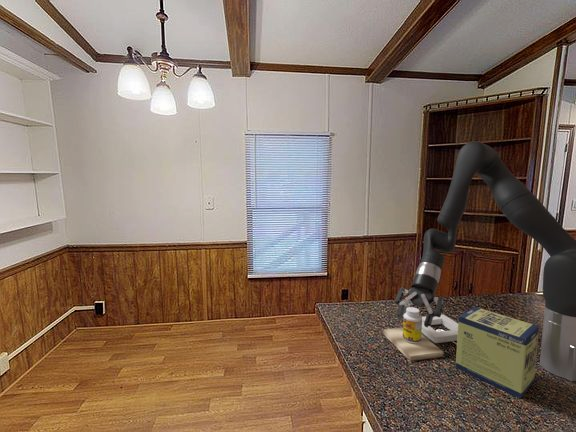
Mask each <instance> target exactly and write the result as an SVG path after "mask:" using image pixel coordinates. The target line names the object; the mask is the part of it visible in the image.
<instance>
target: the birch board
mask: <svg viewBox="0 0 576 432" xmlns="http://www.w3.org/2000/svg"><path fill="white" fill-rule="evenodd" d="M382 334H383V335H384V336H385V337H386V338H387V339H388V341H390V342H391V343H392V344H393V346H395V348H397V349H398V350H399V351H400V352H401V354H403V355H404V357H405V358H407V359H408V360H409V361H410V362H411V361H420V360H428V359H436V358H441V357H442V358H443V357H444V351H443V350H442V349H441V348H439V347H438V346H437V345H435V343H434V342H433V341H432V340H430V339H429V338H428V337H427V336H426V335H424V334H423V333H421V341H420V342H419V343H409V342H407V341H405V340H404V339H403V326H402V327H393V328H385V329H383V330H382Z"/></svg>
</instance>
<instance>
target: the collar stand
mask: <svg viewBox="0 0 576 432" xmlns="http://www.w3.org/2000/svg"><path fill="white" fill-rule="evenodd" d="M426 316H427V315H426ZM426 316H421V317H422V333H421V334H422V335H423V336H425V337H426V338H427V339H428V340H430V341H431V342H432V343H433V344H439V343H445V342H446V343H447V342H448V343H449V342H455V341H456V342H457V336H458V322H457V321H455V320H453V319H452V318H450V317H448V316H447V315H445V314H441V317H433V319H432V323H431V325H430V326H428V328H427V327H425V326H424V322H425V319H426ZM434 325H443V326H444V327H446V329H448V330H443V331H442V330H441V331H437V330H435V328H433V327H431V326H434Z"/></svg>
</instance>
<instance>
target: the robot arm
mask: <svg viewBox="0 0 576 432" xmlns="http://www.w3.org/2000/svg"><path fill="white" fill-rule="evenodd" d="M452 173H453V174H452V178H451V182H450V184H449V185H450V186H449V188H448V191H447V195H446V198H445V199H444V202H443V205H442V206H441V209H440V211H439V214H438V215H437V221H436V222H437V223H439V224H440V225H441V226H443V227H445V228H446V229H447V230H448V232H446V231H442V230H439V229H437V228H429V229H428V230H426V231H425V232H424V236H423V251H422V257H421V260H420V262H419V265H418V267H417V269H416V271H415V274H414V276H413V279H412V282H411V285H410V288H409V289H405V288H404V286H401V287H400V288H399V290H398V293H397V294H396V297H395V299H394V302H395V304H396V305H397V306H398V308H397V311H396V316H397V318H398V319H399V320H400V319H401V320H402V319H403V315H404V313H405V309H406V308H408V307H411V306H412V305H413V306H415V307H416V306H418V307H420V308H425V309H426V310H427V312H428V313H427V314H426V319H425V322H424V326H425V327H427V328H428V326H430V327H431V326H432V325H431V323H432V319H433V317H441V315H442V313H443V307H444V304H445V303H444V299H443V297H442V296H435V294H436V291H437V287H438V285H439V282H440V279H441V273H442V269H443V266H444V263H445V256H444V255H443V254H442V253H445V254H449V253H451V252H453V250H454V249H455V247H456V241H457V232H458V227H459V225H460V222H461V220H462V217H463V215H464V212H465V211H466V208H467V204H468V200H469V199H468V198H469V190H470V184H471V182H472V180H473V178H474V176H475V174H476V175H478V176H479V177H480V178H481V179H482V180H483V182H484V183H485V184H486V185H487V186H488V188H489V190H490V191H491V194H492V195H491V196H492V197H493V200H494V202H495V204H496V205H497V208H498V209H499V210H500V211H501V212H502V214H503V216H504V217H505V218H506V219H507V220H508V221H509V222H510V223H511V224H512V225H513V226H514V227H515V228H517V229H518V230H520V231H521V232H522V233H524V234H525V235H527V236H528V237H530V238H531V239H532V240H534V241H536V242H537V243H538V244H539V245H540V246H541V247H542V248H543V249H544V251H546V253H547V255H549V257H548V258H547V260H546V261H545V263H544V265H543V272H542V297H543V299H544V311H543V313H544V314H543V324H542V333H541V335H542V336H541V345H540V357H539V358H540V359H539V365H540V366H541V368H543V369H544V370H546V372H549V373H551V374H552V375H554V376H557V377H559V378H562V379H565V380H567V381H570V382H576V239H575V238H574V237H573V236H572V235H571V234H570V233H569V232H568V231H567V230H565V228H564V227H563V226H562V225H561V224H560V222H559V221H558V220H557V219H556V218H555V217H554V216H553V214H552V213H551V212H550V211H549V210H548V208H546V207H545V206H544V204H543V203H542V202H541V201H540V200H539V199H538V198H537V197H536V195H535V194H534V193H533V192H532V191H531V190H530V189H529V188H528V187H527V186H526V185H525V184H524V183H523V182H522V181H521V180H519V178H517V177H516V176H515V175H514V174H513V173H512V172H511V171H510V170H509V168H508V167H507V166H506V164H505V163H504V162H503V161H502V159H501V158H500V156H499V155H498V153H497V151H496V150H495V149H494V148H492V147H491V146H490V145H488V144H485V143H483V142H481V141H474V140H473V141H470V142H467V143H465V144H464V145H463V146H462V147H461V148H460V149H459V151H458V153H457V157H456V162H455V167H454V170H453V172H452ZM441 252H442V253H441ZM406 295H407V297H405V296H406ZM404 297H405V298H404ZM433 302H435V304H436V307H435V309H434V310H433V309H432V307H431V305H430V304H432V303H433Z"/></svg>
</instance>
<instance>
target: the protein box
mask: <svg viewBox="0 0 576 432" xmlns="http://www.w3.org/2000/svg"><path fill="white" fill-rule="evenodd" d="M457 321H458V322H457V323H458V336H457V341H456V354H455V364H454V367H455V368H456V369H458V370H460V371H462V372H464V373H466V374H468V375H471V376H473V377H475V378H476V379H479V380H480V381H483V382H485V383H486V384H489V385H491V386H493V387H495V388H497V389H499V390H502V391H503V392H505V393H506V394H509V395H511V396H514V397H515V398H517V399H519V400H521V399H522V398H523V397H524V396H525V394H526V393H527V392H528V391H529V389H530V388H531V386H532V385H533V384H534V383H535V374H536V363H537V351H538V343H539V342H538V341H539V330H540V326H539V325H538V324H533V323H529V322H526V321H523V320H519V319H516V318H514V317H510V316H509V317H508V316H507V315H503V314H501V313H500V314H499V313H497V312H493V311H490V310H487V309H483V308H481V307H476V306H475V307H472V308H471V309H469V310H468V311H466V312H464V313H462V314H460V315H458V320H457Z"/></svg>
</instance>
